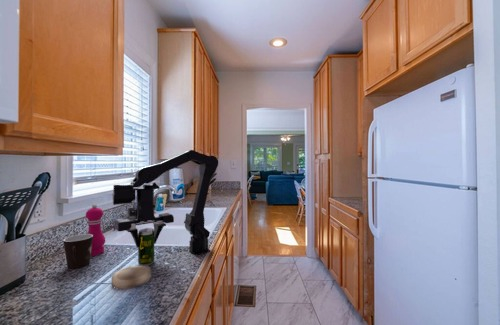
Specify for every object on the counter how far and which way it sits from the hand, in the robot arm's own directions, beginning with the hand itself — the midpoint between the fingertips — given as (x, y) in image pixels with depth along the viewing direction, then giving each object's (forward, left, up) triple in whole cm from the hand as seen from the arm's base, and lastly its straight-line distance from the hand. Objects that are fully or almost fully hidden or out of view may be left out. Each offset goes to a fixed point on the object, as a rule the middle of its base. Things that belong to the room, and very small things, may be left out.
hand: (146, 245), depth 86 cm
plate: (+7, +10, -6) cm, 14 cm away
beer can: (0, 0, -7) cm, 7 cm away
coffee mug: (+20, -13, -7) cm, 25 cm away
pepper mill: (+13, -25, -7) cm, 29 cm away
